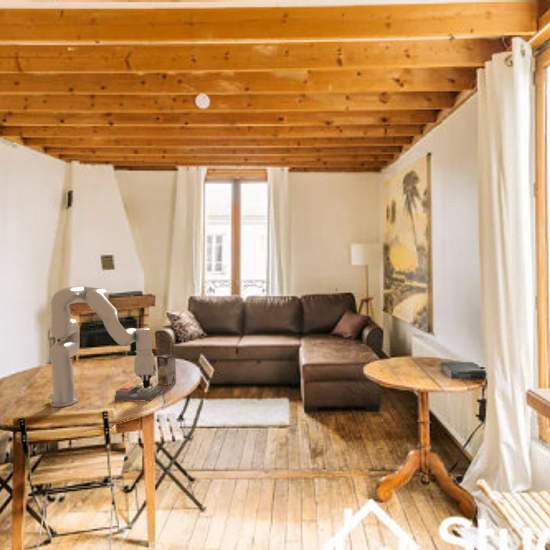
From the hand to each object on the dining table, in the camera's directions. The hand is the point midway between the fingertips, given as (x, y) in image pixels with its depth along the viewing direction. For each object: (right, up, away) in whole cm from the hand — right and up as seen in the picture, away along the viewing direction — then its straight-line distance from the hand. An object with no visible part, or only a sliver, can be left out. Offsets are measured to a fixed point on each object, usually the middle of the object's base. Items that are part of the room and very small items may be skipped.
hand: (146, 387), depth 205 cm
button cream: (-5, -3, +8) cm, 10 cm away
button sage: (0, -2, 0) cm, 2 cm away
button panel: (-5, -6, +5) cm, 9 cm away
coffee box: (+4, -5, +24) cm, 25 cm away
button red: (-12, -3, +3) cm, 13 cm away
